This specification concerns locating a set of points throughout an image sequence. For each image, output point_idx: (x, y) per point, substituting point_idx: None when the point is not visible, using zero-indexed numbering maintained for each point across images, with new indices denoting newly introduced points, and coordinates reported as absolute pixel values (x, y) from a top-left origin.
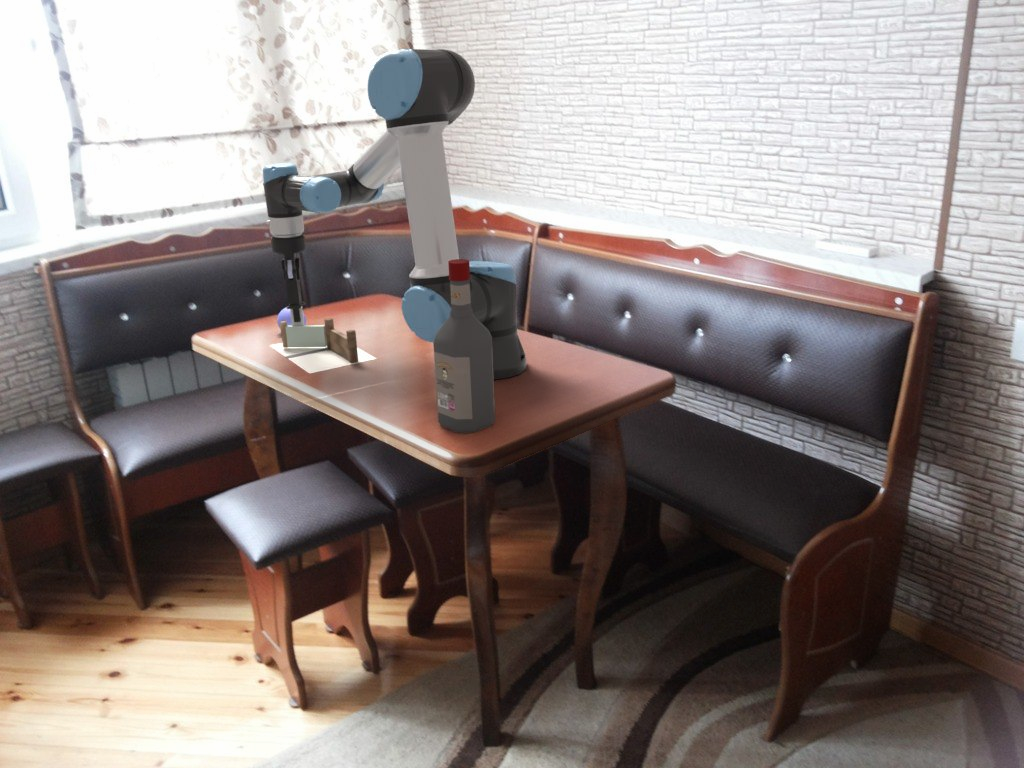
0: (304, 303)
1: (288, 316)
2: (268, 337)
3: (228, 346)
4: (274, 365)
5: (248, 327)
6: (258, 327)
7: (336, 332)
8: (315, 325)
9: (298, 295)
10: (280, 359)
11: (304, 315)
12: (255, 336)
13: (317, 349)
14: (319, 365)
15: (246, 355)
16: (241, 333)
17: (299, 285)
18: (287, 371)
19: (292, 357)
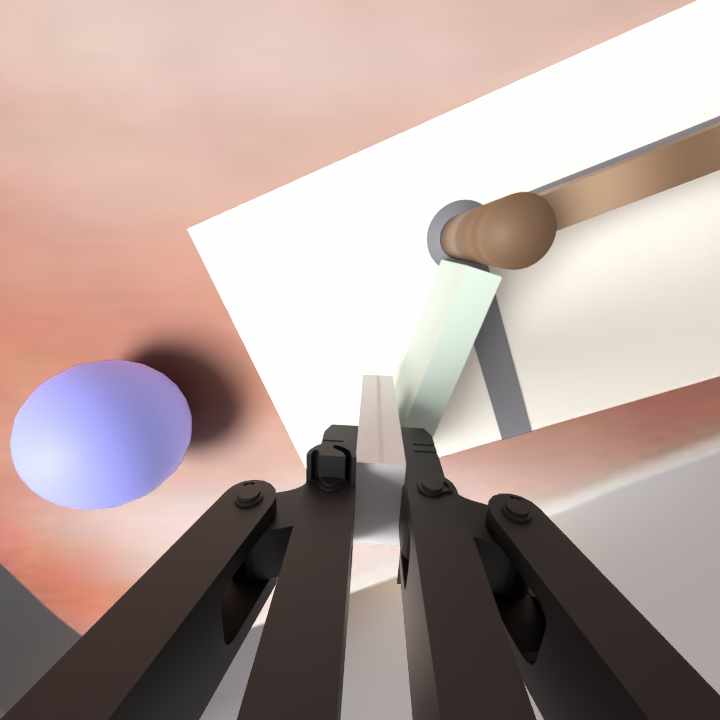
0: (352, 455)
1: (147, 466)
2: (187, 487)
3: (271, 597)
4: (569, 472)
5: (44, 546)
6: (45, 517)
7: (651, 185)
8: (450, 330)
9: (663, 641)
10: (501, 451)
11: (86, 378)
12: (165, 526)
13: None
14: (713, 305)
15: (398, 552)
16: (120, 565)
17: (166, 642)
18: (676, 430)
19: (526, 413)
